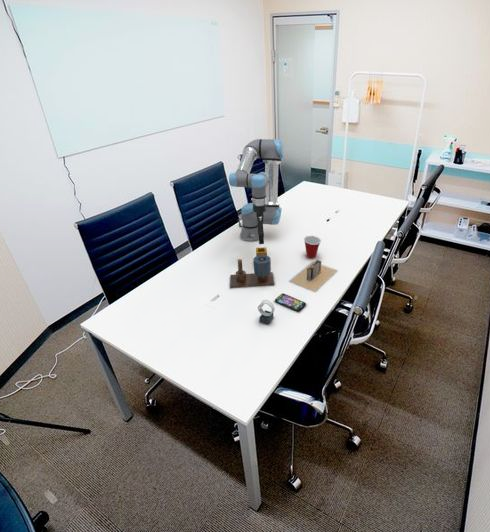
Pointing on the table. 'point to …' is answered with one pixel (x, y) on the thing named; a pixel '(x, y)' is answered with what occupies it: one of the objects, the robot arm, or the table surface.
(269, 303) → the watch
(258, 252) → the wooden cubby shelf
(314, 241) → the plastic cup
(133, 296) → the table surface
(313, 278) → the architectural model on board
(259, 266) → the blue ring
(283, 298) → the smartphone
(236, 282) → the peg stand
